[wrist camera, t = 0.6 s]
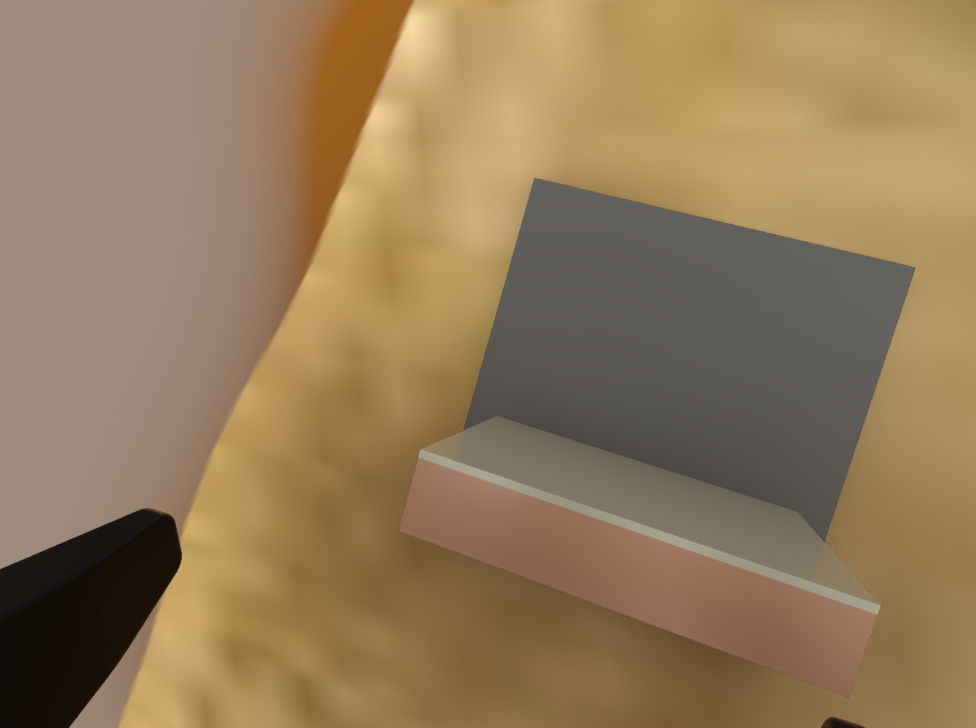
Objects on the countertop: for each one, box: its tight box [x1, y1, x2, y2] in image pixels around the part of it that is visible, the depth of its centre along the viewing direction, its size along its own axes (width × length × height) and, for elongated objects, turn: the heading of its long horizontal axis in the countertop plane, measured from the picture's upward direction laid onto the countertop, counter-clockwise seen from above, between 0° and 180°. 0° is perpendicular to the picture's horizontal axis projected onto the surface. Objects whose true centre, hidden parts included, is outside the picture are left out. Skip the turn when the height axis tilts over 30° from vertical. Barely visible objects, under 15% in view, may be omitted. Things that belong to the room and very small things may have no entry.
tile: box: [398, 416, 881, 698], centre depth 19 cm, size 2×10×8 cm, turn 74°
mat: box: [464, 178, 915, 541], centre depth 23 cm, size 13×12×1 cm
